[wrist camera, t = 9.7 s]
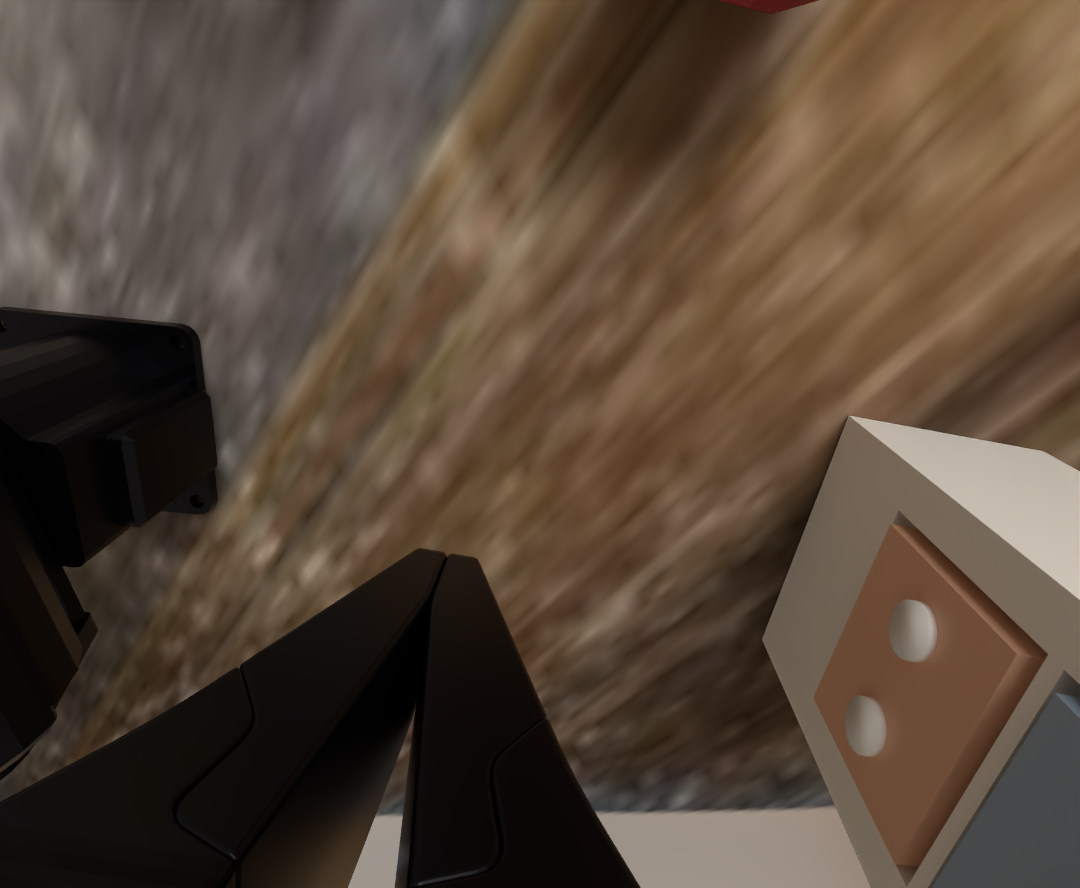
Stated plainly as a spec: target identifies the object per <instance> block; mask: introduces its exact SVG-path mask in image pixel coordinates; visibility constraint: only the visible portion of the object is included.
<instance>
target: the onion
mask: <svg viewBox="0 0 1080 888" xmlns="http://www.w3.org/2000/svg"><path fill="white" fill-rule="evenodd" d="M720 1H721V2H725V3H729V4H733V5H737V6H741V7H745V8H749V9H753V10H757V11H761V12H765V13H769V14H774V13H777V12H780V11H784V10H787V9H791V8H794V7H798V6H801V5H804V4H808V3H811V2H815V1H818V0H720Z"/></svg>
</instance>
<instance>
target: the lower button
mask: <svg viewBox="0 0 1080 888" xmlns="http://www.w3.org/2000/svg"><path fill="white" fill-rule="evenodd" d="M1047 656H1048V654H1047V653H1046V652H1045V651H1044V650H1043V649H1042V648H1041V647H1040V646H1039V645H1038V644H1037V643H1036V642H1035V641H1034V640H1033V639H1032V638H1031V637H1030V636H1029V635H1028V634H1027V633H1026V632H1025V631H1024V630H1023V629H1021V628H1020V627H1019V626H1018V625H1017V624H1016V623H1015V622H1014V621H1013V620H1012V619H1011V618H1010V617H1009V616H1008V615H1007V614H1006V613H1005V612H1004V611H1003V610H1002V609H1001V608H1000V607H999V606H998V605H997V604H996V603H994V602H993V601H992V600H991V599H990V598H989V597H988V596H987V595H986V594H985V593H984V592H983V591H982V590H981V589H980V588H979V587H978V586H977V585H976V584H975V583H974V582H973V581H972V580H971V579H970V578H968V577H967V576H966V575H965V574H964V573H963V572H962V571H961V570H960V569H959V568H958V567H957V566H956V565H955V564H954V563H953V562H952V561H951V560H950V559H949V558H948V557H947V556H946V555H945V554H944V553H942V552H941V551H940V550H939V549H938V548H937V547H936V546H935V545H934V544H933V543H932V542H931V541H930V540H929V539H928V538H927V537H926V536H925V535H924V534H923V533H922V532H921V531H920V530H919V529H916V528H911V527H905V526H899V525H894V524H890V526H889V529H888V531H887V533H886V535H885V538H884V540H883V542H882V544H881V547H880V549H879V551H878V553H877V556H876V558H875V560H874V562H873V565H872V567H871V569H870V571H869V574H868V576H867V578H866V580H865V583H864V585H863V587H862V589H861V592H860V594H859V596H858V598H857V601H856V603H855V605H854V607H853V610H852V612H851V614H850V616H849V619H848V621H847V623H846V625H845V628H844V630H843V632H842V634H841V636H840V639H839V641H838V643H837V645H836V648H835V650H834V652H833V654H832V657H831V659H830V661H829V663H828V666H827V668H826V670H825V672H824V675H823V677H822V679H821V681H820V684H819V686H818V688H817V690H816V693H815V695H814V697H813V698H814V700H815V702H816V704H817V706H818V708H819V710H820V712H821V715H822V717H823V719H824V721H825V723H826V725H827V727H828V729H829V731H830V733H831V735H832V737H833V739H834V741H835V743H836V745H837V747H838V749H839V751H840V753H841V755H842V757H843V759H844V761H845V764H846V766H847V768H848V770H849V772H850V774H851V776H852V778H853V780H854V782H855V784H856V786H857V788H858V790H859V792H860V794H861V796H862V798H863V800H864V802H865V804H866V806H867V808H868V810H869V813H870V815H871V817H872V819H873V821H874V823H875V825H876V827H877V829H878V831H879V833H880V835H881V837H882V839H883V841H884V843H885V845H886V847H887V849H888V851H889V853H890V855H891V857H892V859H893V861H894V864H900V865H906V866H913V867H919V866H920V865H921V863H922V861H923V860H924V858H925V856H926V855H927V853H928V852H929V850H930V848H931V847H932V845H933V843H934V842H935V840H936V838H937V837H938V835H939V833H940V832H941V830H942V829H943V827H944V825H945V824H946V822H947V820H948V819H949V817H950V815H951V814H952V812H953V810H954V809H955V807H956V805H957V804H958V802H959V801H960V799H961V797H962V796H963V794H964V792H965V791H966V789H967V787H968V786H969V784H970V782H971V781H972V779H973V778H974V776H975V774H976V773H977V771H978V769H979V768H980V766H981V764H982V763H983V761H984V759H985V758H986V756H987V754H988V753H989V751H990V750H991V748H992V746H993V745H994V743H995V741H996V740H997V738H998V736H999V735H1000V733H1001V731H1002V730H1003V728H1004V727H1005V725H1006V723H1007V722H1008V720H1009V718H1010V717H1011V715H1012V713H1013V712H1014V710H1015V708H1016V707H1017V705H1018V703H1019V702H1020V700H1021V699H1022V697H1023V695H1024V694H1025V692H1026V690H1027V689H1028V687H1029V685H1030V684H1031V682H1032V680H1033V679H1034V677H1035V676H1036V674H1037V672H1038V671H1039V669H1040V667H1041V666H1042V664H1043V662H1044V661H1045V659H1046V657H1047Z"/></svg>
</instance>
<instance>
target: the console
mask: <svg viewBox="0 0 1080 888" xmlns="http://www.w3.org/2000/svg"><path fill="white" fill-rule="evenodd" d="M890 524H894V525H899V526H905V527H911V528H916V529H919V530H920V531H921V532H922V533H923V534H924V535H925V536H926V537H927V538H928V539H929V540H930V541H931V542H932V543H933V544H934V545H935V546H936V547H937V548H938V549H939V550H940V551H941V552H942V553H944V554H945V555H946V556H947V557H948V558H949V559H950V560H951V561H952V562H953V563H954V564H955V565H956V566H957V567H958V568H959V569H960V570H961V571H962V572H963V573H964V574H965V575H966V576H967V577H968V578H970V579H971V580H972V581H973V582H974V583H975V584H976V585H977V586H978V587H979V588H980V589H981V590H982V591H983V592H984V593H985V594H986V595H987V596H988V597H989V598H990V599H991V600H992V601H993V602H994V603H996V604H997V605H998V606H999V607H1000V608H1001V609H1002V610H1003V611H1004V612H1005V613H1006V614H1007V615H1008V616H1009V617H1010V618H1011V619H1012V620H1013V621H1014V622H1015V623H1016V624H1017V625H1018V626H1019V627H1020V628H1021V629H1023V630H1024V631H1025V632H1026V633H1027V634H1028V635H1029V636H1030V637H1031V638H1032V639H1033V640H1034V641H1035V642H1036V643H1037V644H1038V645H1039V646H1040V647H1041V648H1042V649H1043V650H1044V651H1045V652H1046V653H1047V654H1048V656H1047V657H1046V659H1045V661H1044V662H1043V664H1042V666H1041V667H1040V669H1039V671H1038V672H1037V674H1036V676H1035V677H1034V679H1033V680H1032V682H1031V684H1030V685H1029V687H1028V689H1027V690H1026V692H1025V694H1024V695H1023V697H1022V699H1021V700H1020V702H1019V703H1018V705H1017V707H1016V708H1015V710H1014V712H1013V713H1012V715H1011V717H1010V718H1009V720H1008V722H1007V723H1006V725H1005V727H1004V728H1003V730H1002V731H1001V733H1000V735H999V736H998V738H997V740H996V741H995V743H994V745H993V746H992V748H991V750H990V751H989V753H988V754H987V756H986V758H985V759H984V761H983V763H982V764H981V766H980V768H979V769H978V771H977V773H976V774H975V776H974V778H973V779H972V781H971V782H970V784H969V786H968V787H967V789H966V791H965V792H964V794H963V796H962V797H961V799H960V801H959V802H958V804H957V805H956V807H955V809H954V810H953V812H952V814H951V815H950V817H949V819H948V820H947V822H946V824H945V825H944V827H943V829H942V830H941V832H940V833H939V835H938V837H937V838H936V840H935V842H934V843H933V845H932V847H931V848H930V850H929V852H928V853H927V855H926V856H925V858H924V860H923V861H922V863H921V865H920V866H919V867H913V866H906V865H900V864H894V861H893V859H892V857H891V855H890V853H889V851H888V849H887V847H886V845H885V843H884V841H883V839H882V837H881V835H880V833H879V831H878V829H877V827H876V825H875V823H874V821H873V819H872V817H871V815H870V813H869V810H868V808H867V806H866V804H865V802H864V800H863V798H862V796H861V794H860V792H859V790H858V788H857V786H856V784H855V782H854V780H853V778H852V776H851V774H850V772H849V770H848V768H847V766H846V764H845V761H844V759H843V757H842V755H841V753H840V751H839V749H838V747H837V745H836V743H835V741H834V739H833V737H832V735H831V733H830V731H829V729H828V727H827V725H826V723H825V721H824V719H823V717H822V715H821V712H820V710H819V708H818V706H817V704H816V702H815V700H814V698H813V697H814V695H815V693H816V690H817V688H818V686H819V684H820V681H821V679H822V677H823V675H824V672H825V670H826V668H827V666H828V663H829V661H830V659H831V657H832V654H833V652H834V650H835V648H836V645H837V643H838V641H839V639H840V636H841V634H842V632H843V630H844V628H845V625H846V623H847V621H848V619H849V616H850V614H851V612H852V610H853V607H854V605H855V603H856V601H857V598H858V596H859V594H860V592H861V589H862V587H863V585H864V583H865V580H866V578H867V576H868V574H869V571H870V569H871V567H872V565H873V562H874V560H875V558H876V556H877V553H878V551H879V549H880V547H881V544H882V542H883V540H884V538H885V535H886V533H887V531H888V529H889V526H890ZM762 641H763V643H764V645H765V647H766V650H767V652H768V654H769V657H770V659H771V661H772V663H773V666H774V668H775V670H776V672H777V675H778V677H779V679H780V682H781V684H782V686H783V688H784V691H785V693H786V695H787V697H788V700H789V702H790V704H791V707H792V709H793V711H794V713H795V716H796V718H797V720H798V723H799V725H800V727H801V729H802V732H803V734H804V736H805V738H806V741H807V743H808V745H809V748H810V750H811V752H812V754H813V757H814V759H815V761H816V763H817V766H818V768H819V770H820V773H821V775H822V777H823V779H824V782H825V784H826V786H827V788H828V791H829V793H830V795H831V798H832V800H833V802H834V804H835V807H836V809H837V811H838V813H839V816H840V818H841V820H842V823H843V825H844V827H845V829H846V832H847V834H848V836H849V839H850V841H851V843H852V845H853V847H854V850H855V852H856V854H857V857H858V859H859V861H860V863H861V866H862V868H863V870H864V873H865V875H866V877H867V879H868V882H869V884H870V886H871V888H932V887H933V885H934V884H935V882H936V881H937V879H938V877H939V876H940V874H941V873H942V871H943V870H944V868H945V866H946V865H947V863H948V862H949V860H950V858H951V857H952V855H953V854H954V852H955V851H956V849H957V847H958V846H959V844H960V843H961V841H962V839H963V838H964V836H965V835H966V833H967V832H968V830H969V828H970V827H971V825H972V824H973V822H974V820H975V819H976V817H977V816H978V814H979V813H980V811H981V809H982V808H983V806H984V805H985V803H986V801H987V800H988V798H989V797H990V795H991V793H992V792H993V790H994V789H995V787H996V786H997V784H998V782H999V781H1000V779H1001V778H1002V776H1003V774H1004V773H1005V771H1006V770H1007V768H1008V767H1009V765H1010V763H1011V762H1012V760H1013V759H1014V757H1015V755H1016V754H1017V752H1018V751H1019V749H1020V748H1021V746H1022V744H1023V743H1024V741H1025V740H1026V738H1027V736H1028V735H1029V733H1030V732H1031V730H1032V729H1033V727H1034V725H1035V724H1036V722H1037V721H1038V719H1039V717H1040V716H1041V714H1042V713H1043V711H1044V710H1045V708H1046V706H1047V705H1048V703H1049V702H1050V700H1051V698H1052V697H1053V695H1054V694H1055V693H1059V694H1065V695H1070V696H1076V697H1080V471H1078V470H1076V469H1074V468H1073V467H1071V466H1069V465H1067V464H1065V463H1063V462H1062V461H1060V460H1058V459H1056V458H1054V457H1053V456H1051V455H1049V454H1047V453H1045V452H1043V451H1039V450H1033V449H1028V448H1022V447H1017V446H1011V445H1006V444H1001V443H995V442H990V441H984V440H979V439H973V438H968V437H963V436H957V435H952V434H946V433H941V432H935V431H930V430H925V429H919V428H914V427H908V426H903V425H897V424H892V423H887V422H881V421H876V420H870V419H865V418H859V417H854V416H848V419H847V421H846V424H845V426H844V429H843V431H842V434H841V437H840V439H839V442H838V444H837V447H836V449H835V452H834V455H833V457H832V460H831V462H830V465H829V468H828V470H827V473H826V475H825V478H824V480H823V483H822V486H821V488H820V491H819V493H818V496H817V499H816V501H815V504H814V506H813V509H812V511H811V514H810V517H809V519H808V522H807V524H806V527H805V529H804V532H803V535H802V537H801V540H800V542H799V545H798V548H797V550H796V553H795V555H794V558H793V560H792V563H791V566H790V568H789V571H788V573H787V576H786V578H785V581H784V584H783V586H782V589H781V591H780V594H779V597H778V599H777V602H776V604H775V607H774V609H773V612H772V615H771V617H770V620H769V622H768V625H767V627H766V630H765V633H764V635H763V638H762Z"/></svg>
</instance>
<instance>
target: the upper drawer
mask: <svg viewBox="0 0 1080 888" xmlns="http://www.w3.org/2000/svg"><path fill="white" fill-rule="evenodd" d="M932 888H1080V697H1076V696H1070V695H1065V694H1059V693H1055V694H1054V695H1053V697H1052V698H1051V700H1050V702H1049V703H1048V705H1047V706H1046V708H1045V710H1044V711H1043V713H1042V714H1041V716H1040V717H1039V719H1038V721H1037V722H1036V724H1035V725H1034V727H1033V729H1032V730H1031V732H1030V733H1029V735H1028V736H1027V738H1026V740H1025V741H1024V743H1023V744H1022V746H1021V748H1020V749H1019V751H1018V752H1017V754H1016V755H1015V757H1014V759H1013V760H1012V762H1011V763H1010V765H1009V767H1008V768H1007V770H1006V771H1005V773H1004V774H1003V776H1002V778H1001V779H1000V781H999V782H998V784H997V786H996V787H995V789H994V790H993V792H992V793H991V795H990V797H989V798H988V800H987V801H986V803H985V805H984V806H983V808H982V809H981V811H980V813H979V814H978V816H977V817H976V819H975V820H974V822H973V824H972V825H971V827H970V828H969V830H968V832H967V833H966V835H965V836H964V838H963V839H962V841H961V843H960V844H959V846H958V847H957V849H956V851H955V852H954V854H953V855H952V857H951V858H950V860H949V862H948V863H947V865H946V866H945V868H944V870H943V871H942V873H941V874H940V876H939V877H938V879H937V881H936V882H935V884H934V885H933V887H932Z"/></svg>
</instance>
